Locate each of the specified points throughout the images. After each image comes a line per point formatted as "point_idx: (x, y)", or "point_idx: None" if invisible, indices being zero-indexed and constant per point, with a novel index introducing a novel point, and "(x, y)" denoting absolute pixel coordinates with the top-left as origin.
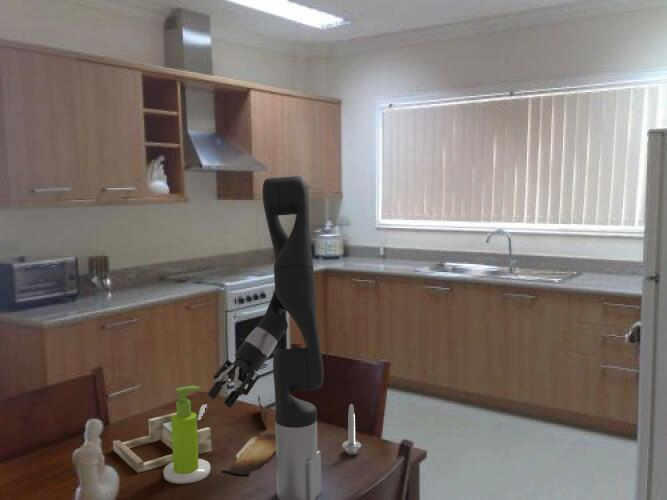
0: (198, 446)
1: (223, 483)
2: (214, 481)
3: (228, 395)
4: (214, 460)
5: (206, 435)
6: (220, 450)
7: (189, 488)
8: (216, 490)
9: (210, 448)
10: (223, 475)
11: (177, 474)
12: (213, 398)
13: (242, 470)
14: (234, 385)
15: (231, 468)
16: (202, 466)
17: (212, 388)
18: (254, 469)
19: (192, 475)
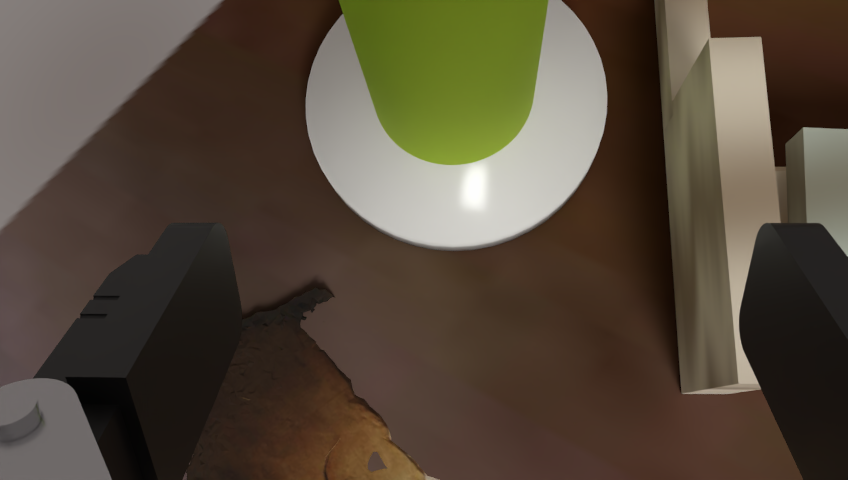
0: (690, 275)
1: (180, 218)
2: (240, 188)
3: (166, 295)
4: (512, 331)
5: (716, 339)
6: (646, 453)
7: (266, 43)
8: (137, 148)
9: (687, 385)
10: (271, 269)
11: None
12: (742, 324)
13: (230, 395)
14: (98, 465)
15: (316, 357)
16: (409, 183)
17: (833, 290)
18: (196, 475)
19: (335, 81)
